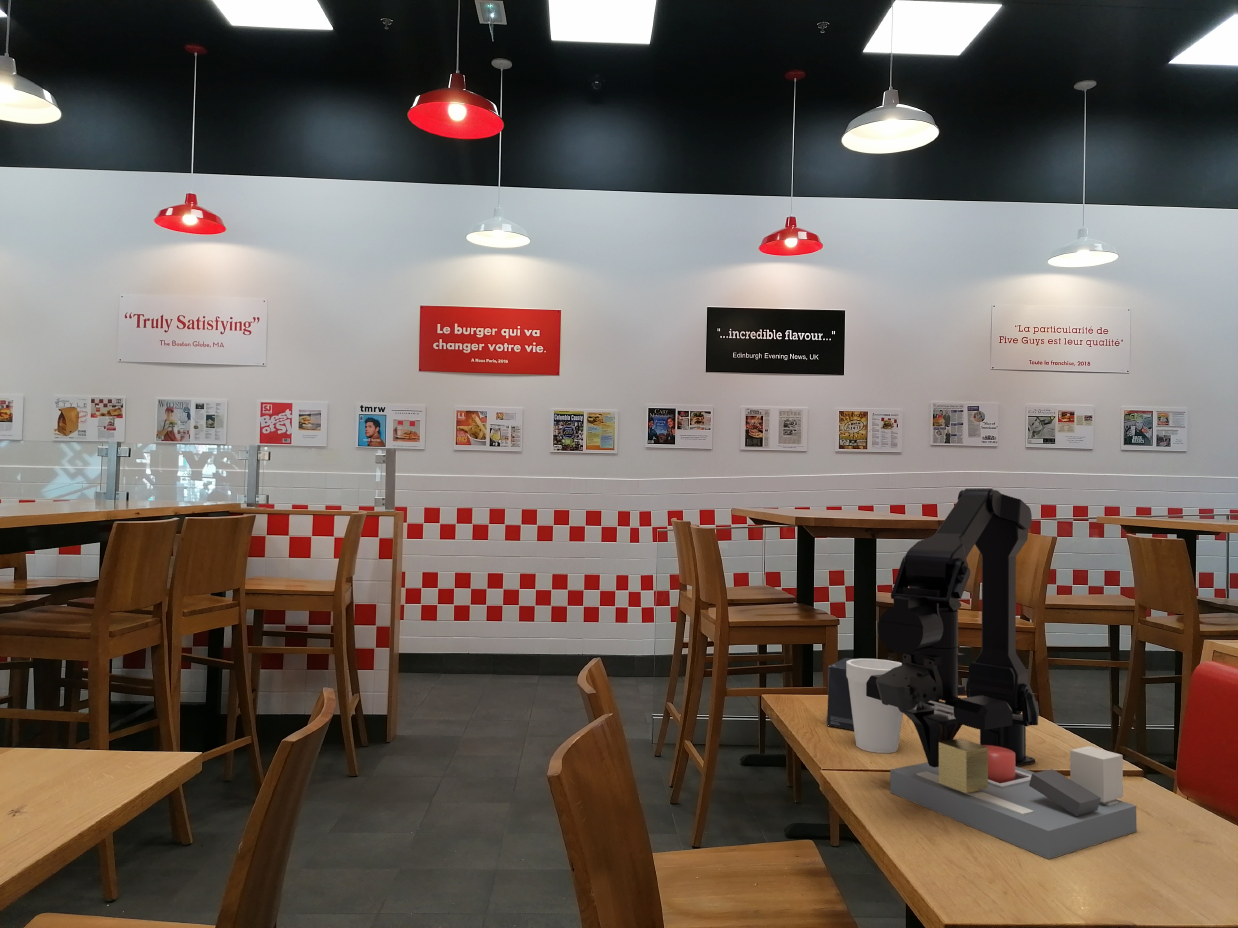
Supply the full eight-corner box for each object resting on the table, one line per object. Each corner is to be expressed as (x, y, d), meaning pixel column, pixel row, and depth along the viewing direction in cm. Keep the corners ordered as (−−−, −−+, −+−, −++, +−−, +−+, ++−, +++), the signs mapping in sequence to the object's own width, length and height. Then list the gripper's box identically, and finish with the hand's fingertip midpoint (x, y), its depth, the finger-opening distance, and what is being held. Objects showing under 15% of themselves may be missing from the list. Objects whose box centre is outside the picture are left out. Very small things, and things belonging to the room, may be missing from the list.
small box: (863, 733, 132) (864, 670, 133) (825, 726, 136) (826, 665, 136) (879, 719, 141) (879, 660, 142) (843, 713, 145) (843, 656, 145)
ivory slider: (1089, 786, 98) (1089, 745, 98) (1123, 796, 95) (1122, 754, 95) (1070, 791, 96) (1070, 749, 97) (1103, 802, 93) (1103, 759, 93)
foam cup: (912, 758, 119) (912, 671, 120) (848, 753, 121) (849, 667, 122) (902, 740, 128) (902, 660, 129) (844, 736, 130) (844, 656, 131)
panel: (974, 774, 112) (974, 750, 113) (1136, 831, 93) (1136, 802, 93) (890, 792, 104) (890, 767, 105) (1048, 859, 85) (1048, 828, 85)
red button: (989, 785, 106) (989, 743, 107) (1024, 798, 102) (1023, 753, 102) (965, 791, 104) (965, 747, 104) (999, 804, 100) (999, 758, 100)
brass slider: (960, 777, 100) (960, 738, 101) (987, 787, 97) (987, 746, 97) (938, 782, 98) (938, 742, 99) (966, 792, 95) (966, 750, 95)
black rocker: (1049, 780, 96) (1052, 768, 96) (1097, 809, 91) (1100, 797, 91) (1028, 785, 94) (1032, 773, 94) (1076, 815, 89) (1080, 803, 89)
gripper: (836, 637, 107) (835, 753, 106) (952, 662, 90) (953, 800, 89) (895, 632, 112) (894, 743, 111) (1015, 655, 95) (1015, 786, 95)
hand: (934, 766), depth 101 cm, fingers closed
